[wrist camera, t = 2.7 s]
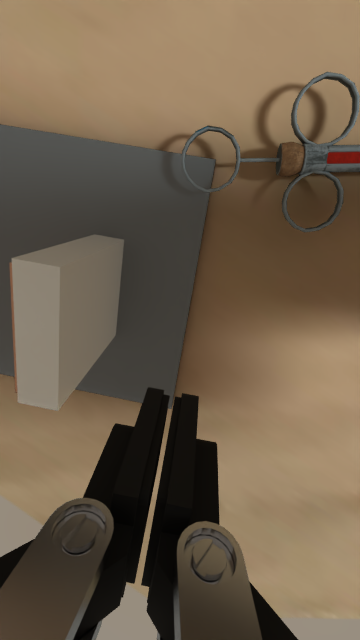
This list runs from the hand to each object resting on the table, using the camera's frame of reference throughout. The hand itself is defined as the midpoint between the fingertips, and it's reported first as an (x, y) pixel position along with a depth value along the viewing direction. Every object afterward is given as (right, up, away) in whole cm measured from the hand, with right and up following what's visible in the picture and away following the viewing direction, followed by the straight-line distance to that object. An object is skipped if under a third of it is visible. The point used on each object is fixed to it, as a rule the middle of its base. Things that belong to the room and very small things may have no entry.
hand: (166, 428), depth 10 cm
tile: (-5, +6, +12) cm, 14 cm away
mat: (-10, +7, +12) cm, 17 cm away
